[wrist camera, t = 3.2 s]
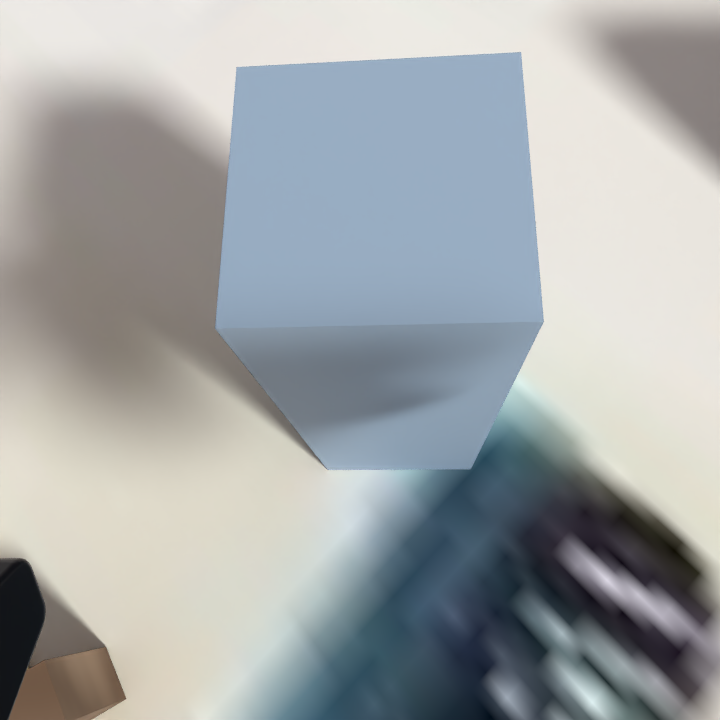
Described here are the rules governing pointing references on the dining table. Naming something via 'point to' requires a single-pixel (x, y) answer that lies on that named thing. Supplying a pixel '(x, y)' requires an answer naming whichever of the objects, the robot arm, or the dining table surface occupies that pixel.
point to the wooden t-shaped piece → (69, 688)
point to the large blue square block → (382, 252)
